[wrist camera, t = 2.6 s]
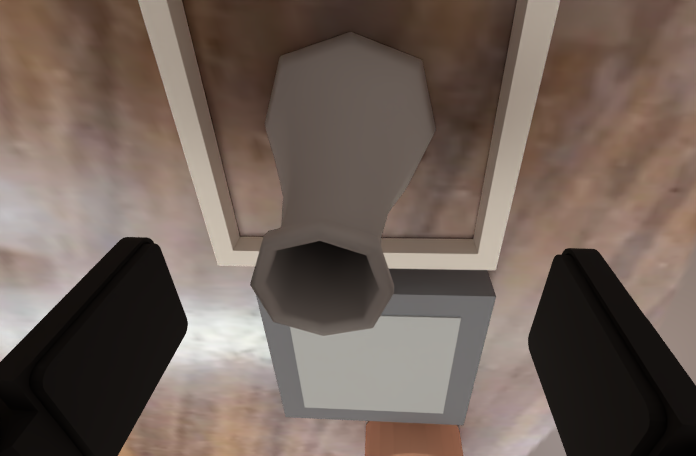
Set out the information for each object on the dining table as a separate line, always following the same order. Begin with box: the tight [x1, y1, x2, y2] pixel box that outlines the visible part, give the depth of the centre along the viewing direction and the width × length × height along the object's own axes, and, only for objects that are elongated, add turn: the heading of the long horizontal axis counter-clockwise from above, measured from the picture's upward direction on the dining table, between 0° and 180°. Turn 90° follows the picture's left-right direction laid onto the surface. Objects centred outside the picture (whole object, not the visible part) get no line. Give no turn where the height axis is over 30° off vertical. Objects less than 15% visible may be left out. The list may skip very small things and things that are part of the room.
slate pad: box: [256, 268, 496, 425], centre depth 24 cm, size 12×12×2 cm
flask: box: [250, 32, 436, 336], centre depth 13 cm, size 7×7×10 cm
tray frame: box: [138, 0, 560, 270], centre depth 16 cm, size 14×14×1 cm
